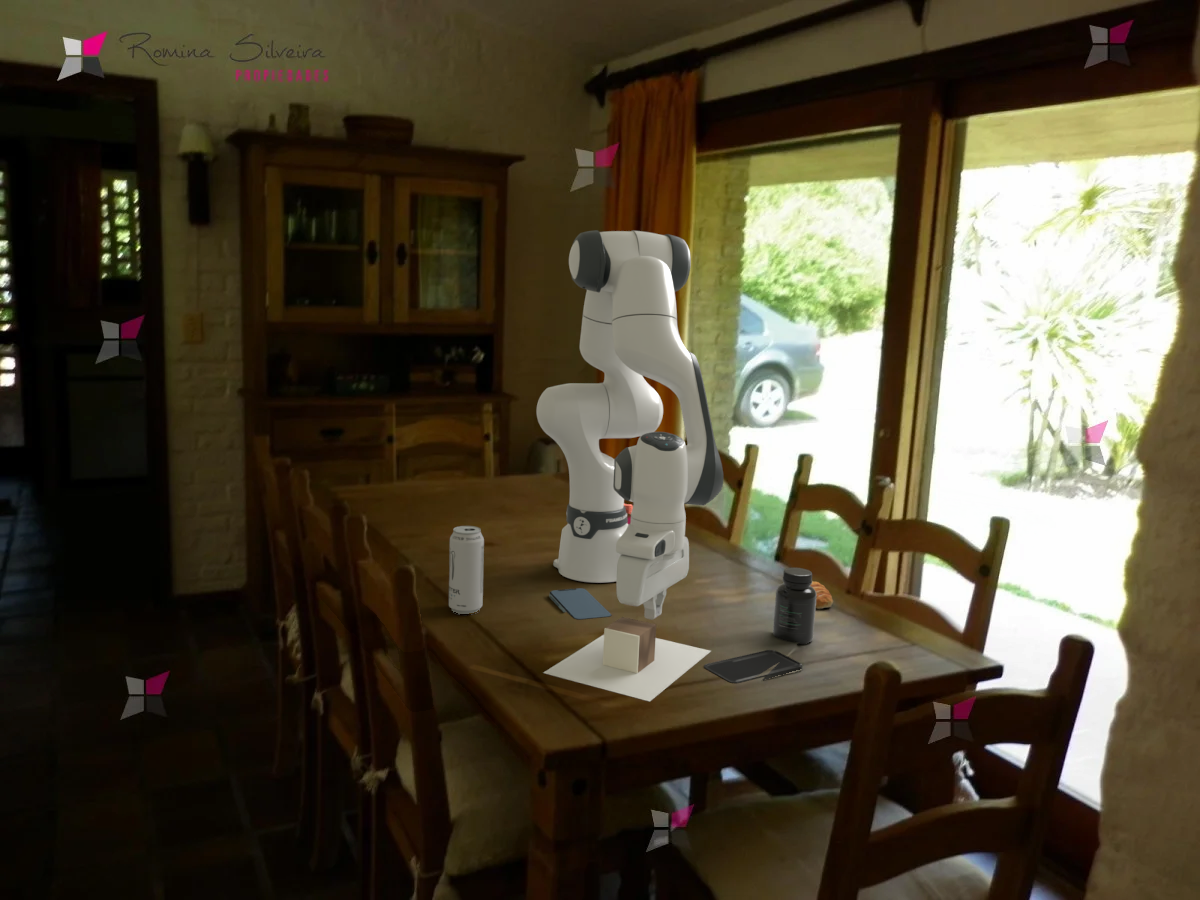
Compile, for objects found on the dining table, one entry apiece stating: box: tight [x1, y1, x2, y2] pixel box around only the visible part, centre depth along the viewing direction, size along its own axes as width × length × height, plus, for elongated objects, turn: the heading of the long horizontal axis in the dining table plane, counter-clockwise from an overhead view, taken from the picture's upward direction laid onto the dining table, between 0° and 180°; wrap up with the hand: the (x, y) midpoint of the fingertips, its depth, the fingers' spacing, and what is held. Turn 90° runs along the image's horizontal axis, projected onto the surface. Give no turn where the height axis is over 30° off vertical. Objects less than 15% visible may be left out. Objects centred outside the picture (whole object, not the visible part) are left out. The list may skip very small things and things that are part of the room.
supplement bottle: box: [772, 567, 817, 646], centre depth 169 cm, size 7×7×12 cm
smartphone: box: [548, 587, 613, 621], centre depth 180 cm, size 8×2×15 cm
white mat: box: [542, 634, 712, 702], centre depth 155 cm, size 23×18×1 cm
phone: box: [703, 649, 804, 684], centre depth 155 cm, size 8×1×15 cm
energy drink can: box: [448, 525, 485, 615], centre depth 175 cm, size 6×6×15 cm
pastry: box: [810, 580, 834, 610], centre depth 189 cm, size 9×7×4 cm
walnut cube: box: [603, 616, 657, 673], centre depth 154 cm, size 6×6×6 cm
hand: (652, 616), depth 160 cm, fingers closed
